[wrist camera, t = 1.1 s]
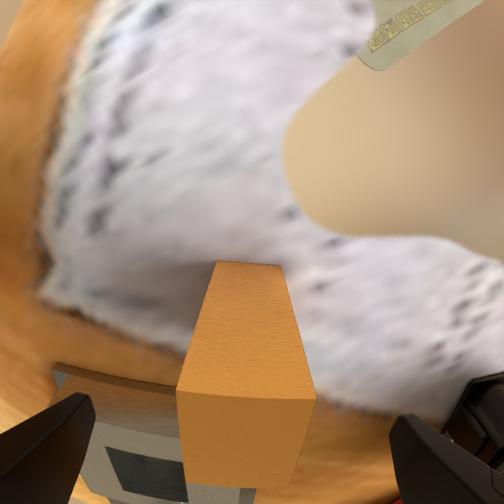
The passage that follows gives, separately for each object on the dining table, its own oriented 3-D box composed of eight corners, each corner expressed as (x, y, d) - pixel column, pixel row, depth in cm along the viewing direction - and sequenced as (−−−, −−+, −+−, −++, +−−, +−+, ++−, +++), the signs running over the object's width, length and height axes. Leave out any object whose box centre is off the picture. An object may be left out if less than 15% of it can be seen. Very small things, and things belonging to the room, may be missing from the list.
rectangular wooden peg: (280, 265, 15) (316, 399, 6) (271, 338, 16) (287, 488, 7) (217, 260, 15) (175, 390, 6) (213, 334, 16) (185, 482, 7)
